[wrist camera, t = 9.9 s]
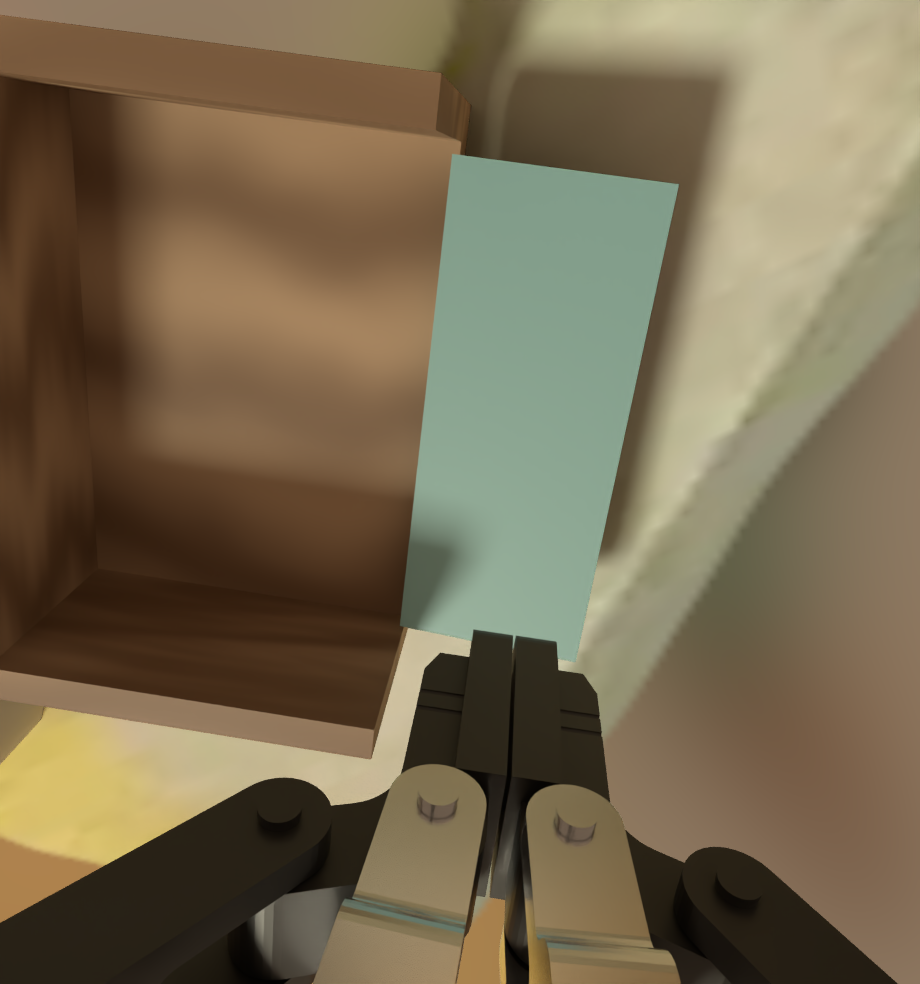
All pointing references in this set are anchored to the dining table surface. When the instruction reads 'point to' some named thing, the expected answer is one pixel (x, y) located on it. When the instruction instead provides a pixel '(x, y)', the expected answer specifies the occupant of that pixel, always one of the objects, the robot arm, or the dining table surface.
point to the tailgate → (528, 394)
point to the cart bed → (212, 376)
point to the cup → (16, 724)
